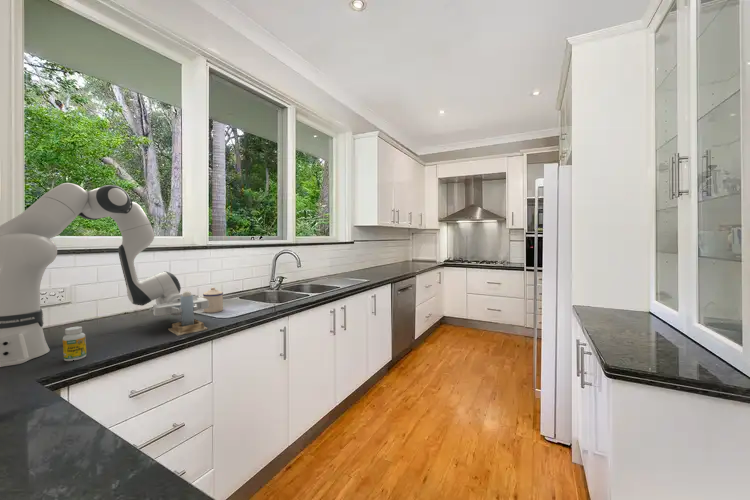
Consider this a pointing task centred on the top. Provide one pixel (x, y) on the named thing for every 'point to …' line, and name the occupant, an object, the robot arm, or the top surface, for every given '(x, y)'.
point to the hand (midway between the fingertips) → (188, 309)
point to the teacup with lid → (214, 300)
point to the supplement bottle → (74, 344)
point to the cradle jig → (187, 328)
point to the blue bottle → (187, 309)
